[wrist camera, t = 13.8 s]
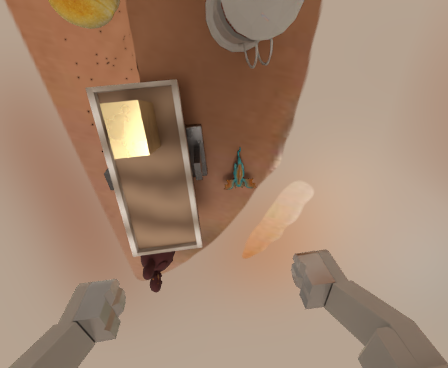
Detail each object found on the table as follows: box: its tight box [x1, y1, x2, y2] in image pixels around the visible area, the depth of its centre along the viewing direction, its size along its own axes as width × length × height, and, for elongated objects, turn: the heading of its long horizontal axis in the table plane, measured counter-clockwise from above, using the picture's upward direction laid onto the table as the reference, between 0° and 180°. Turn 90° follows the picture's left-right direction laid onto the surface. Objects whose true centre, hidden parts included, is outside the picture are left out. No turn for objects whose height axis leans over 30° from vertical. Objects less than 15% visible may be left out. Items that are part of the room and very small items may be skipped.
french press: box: [206, 0, 304, 68], centre depth 21 cm, size 10×12×25 cm
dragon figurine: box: [225, 148, 257, 190], centre depth 42 cm, size 6×7×8 cm
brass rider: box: [100, 100, 161, 159], centre depth 27 cm, size 6×4×7 cm, turn 4°
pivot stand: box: [104, 124, 207, 190], centre depth 37 cm, size 10×16×9 cm, turn 94°
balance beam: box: [86, 79, 202, 257], centre depth 33 cm, size 26×12×3 cm, turn 4°
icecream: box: [141, 251, 175, 292], centre depth 44 cm, size 7×7×15 cm
